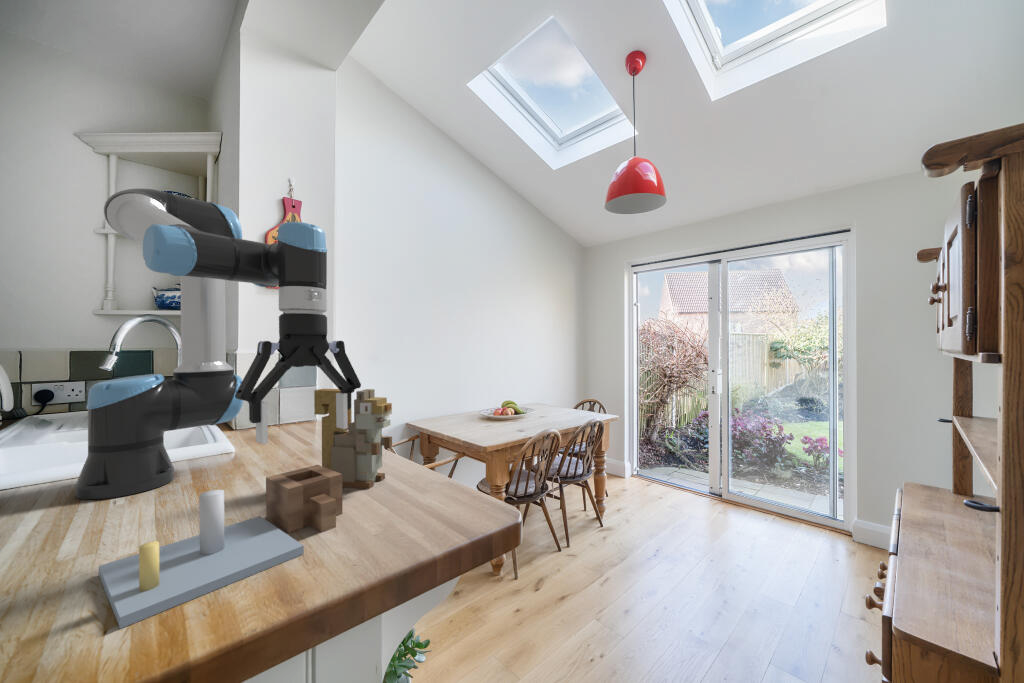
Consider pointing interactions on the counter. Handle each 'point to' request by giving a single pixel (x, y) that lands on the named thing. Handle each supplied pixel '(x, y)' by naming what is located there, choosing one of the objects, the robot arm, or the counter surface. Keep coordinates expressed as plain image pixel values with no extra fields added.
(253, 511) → the counter surface
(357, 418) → the toy
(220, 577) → the post board
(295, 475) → the tabbed square frame
